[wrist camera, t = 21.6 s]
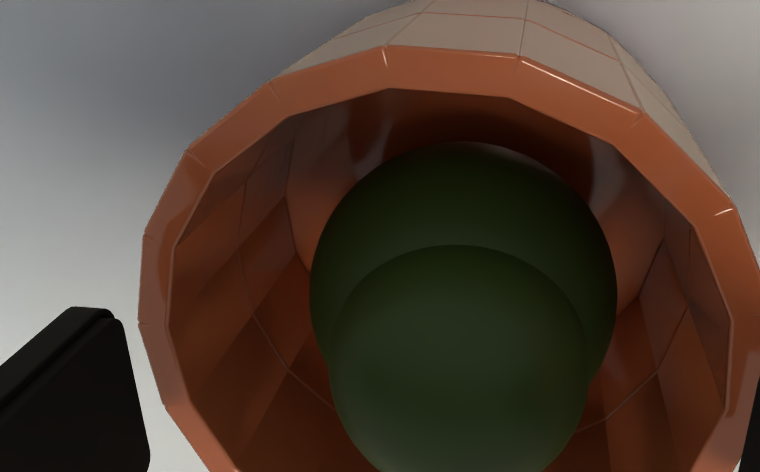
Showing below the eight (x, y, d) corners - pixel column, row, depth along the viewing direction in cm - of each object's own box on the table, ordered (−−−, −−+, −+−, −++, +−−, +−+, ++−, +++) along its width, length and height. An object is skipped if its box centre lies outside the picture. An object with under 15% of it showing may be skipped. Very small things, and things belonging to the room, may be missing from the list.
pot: (195, 155, 19) (24, 278, 13) (531, -117, 15) (521, -129, 9) (424, 430, 21) (374, 649, 15) (773, 261, 17) (904, 468, 11)
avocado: (289, 192, 18) (168, 407, 11) (495, 42, 15) (511, 192, 8) (436, 360, 19) (413, 636, 12) (640, 247, 17) (748, 508, 10)
